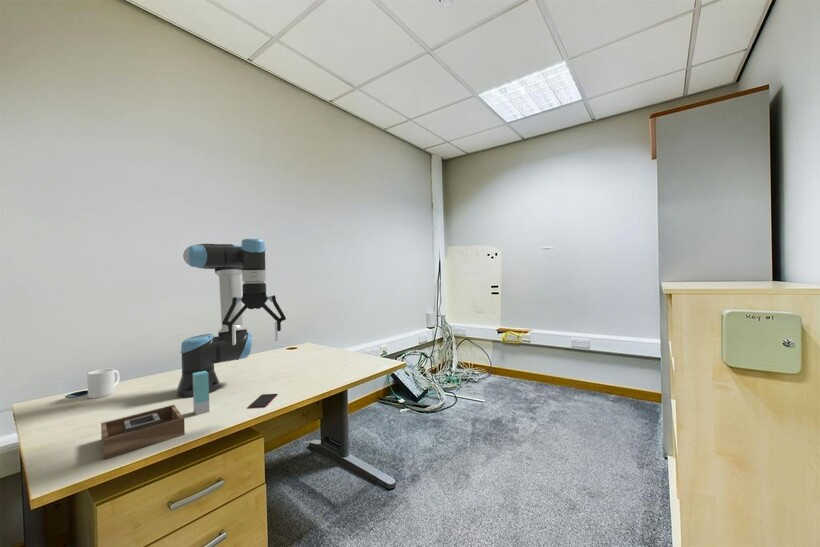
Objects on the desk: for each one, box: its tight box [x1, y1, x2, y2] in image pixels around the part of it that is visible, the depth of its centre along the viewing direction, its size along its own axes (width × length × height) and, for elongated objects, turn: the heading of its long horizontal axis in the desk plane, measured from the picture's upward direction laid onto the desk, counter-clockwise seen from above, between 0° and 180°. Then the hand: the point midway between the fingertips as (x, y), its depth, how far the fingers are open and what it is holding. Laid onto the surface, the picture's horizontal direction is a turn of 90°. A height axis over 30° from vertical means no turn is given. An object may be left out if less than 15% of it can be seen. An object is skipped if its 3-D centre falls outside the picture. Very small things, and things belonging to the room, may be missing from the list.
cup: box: [86, 367, 120, 399], centre depth 139 cm, size 8×12×10 cm
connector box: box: [100, 404, 186, 460], centre depth 98 cm, size 16×18×5 cm
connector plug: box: [192, 371, 210, 416], centre depth 116 cm, size 4×4×14 cm
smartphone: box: [246, 393, 278, 410], centre depth 124 cm, size 7×1×14 cm
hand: (255, 342), depth 114 cm, fingers open, 13 cm apart
